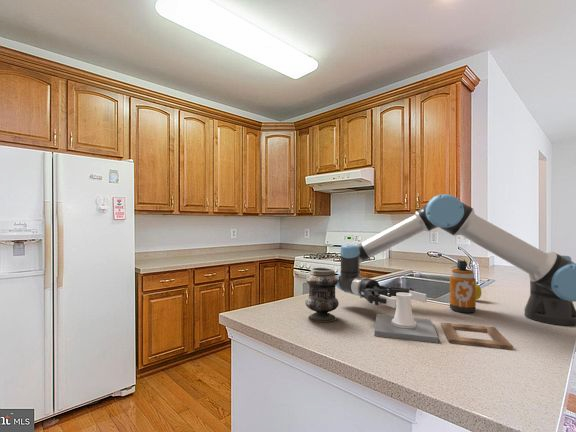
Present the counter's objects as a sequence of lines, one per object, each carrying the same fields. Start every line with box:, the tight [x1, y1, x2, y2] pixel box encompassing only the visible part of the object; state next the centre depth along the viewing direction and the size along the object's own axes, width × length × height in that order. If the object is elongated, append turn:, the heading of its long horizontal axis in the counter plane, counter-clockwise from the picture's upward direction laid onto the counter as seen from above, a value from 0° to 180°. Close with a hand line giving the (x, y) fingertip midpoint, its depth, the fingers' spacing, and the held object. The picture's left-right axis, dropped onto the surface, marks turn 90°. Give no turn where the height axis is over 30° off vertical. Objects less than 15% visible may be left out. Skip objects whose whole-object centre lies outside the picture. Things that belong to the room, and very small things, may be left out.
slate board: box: [374, 313, 439, 344], centre depth 104 cm, size 18×18×2 cm
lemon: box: [476, 283, 482, 301], centre depth 140 cm, size 6×6×8 cm
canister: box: [449, 259, 477, 314], centre depth 126 cm, size 9×11×20 cm
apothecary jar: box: [304, 266, 340, 323], centre depth 115 cm, size 12×12×18 cm
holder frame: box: [440, 321, 514, 351], centre depth 98 cm, size 16×16×1 cm
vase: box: [392, 292, 416, 328], centre depth 104 cm, size 8×8×10 cm
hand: (411, 301), depth 101 cm, fingers open, 13 cm apart
